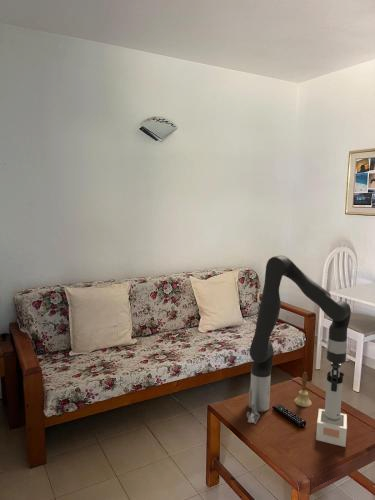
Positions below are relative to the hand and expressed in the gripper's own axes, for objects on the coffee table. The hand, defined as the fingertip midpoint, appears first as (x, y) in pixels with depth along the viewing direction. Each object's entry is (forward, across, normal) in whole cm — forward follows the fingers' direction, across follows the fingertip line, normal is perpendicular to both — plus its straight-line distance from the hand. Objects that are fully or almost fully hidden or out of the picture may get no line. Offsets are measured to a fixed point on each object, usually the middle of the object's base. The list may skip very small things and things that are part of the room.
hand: (334, 387), depth 159 cm
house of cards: (+23, +1, -35) cm, 42 cm away
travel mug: (+14, 0, 0) cm, 14 cm away
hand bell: (+22, -23, -14) cm, 35 cm away
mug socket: (+22, 0, 0) cm, 22 cm away
